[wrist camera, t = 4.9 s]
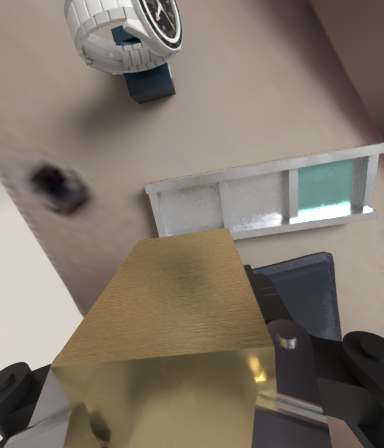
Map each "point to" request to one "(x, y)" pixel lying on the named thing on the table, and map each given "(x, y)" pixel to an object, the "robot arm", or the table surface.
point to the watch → (129, 41)
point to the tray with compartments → (271, 195)
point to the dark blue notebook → (308, 292)
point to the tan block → (172, 348)
